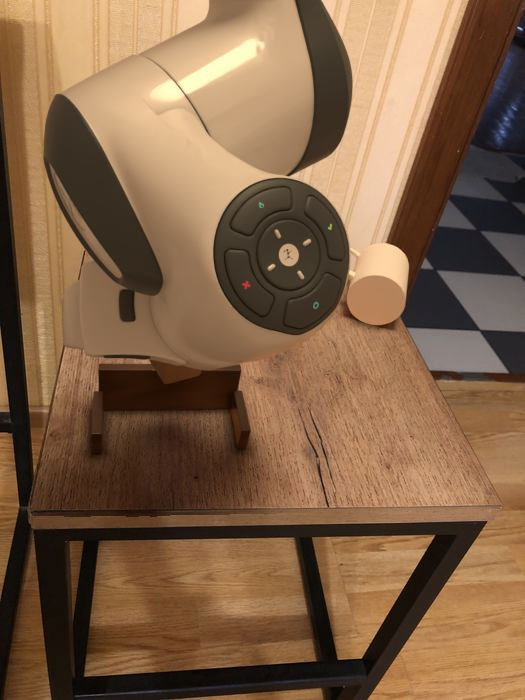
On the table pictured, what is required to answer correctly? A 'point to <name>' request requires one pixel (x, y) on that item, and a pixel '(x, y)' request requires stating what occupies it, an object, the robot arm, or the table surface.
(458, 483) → the table surface
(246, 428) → the frame
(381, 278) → the cup
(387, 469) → the table surface
